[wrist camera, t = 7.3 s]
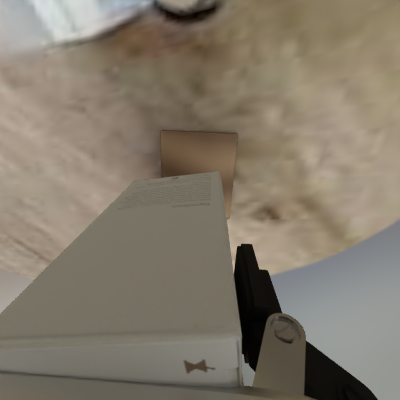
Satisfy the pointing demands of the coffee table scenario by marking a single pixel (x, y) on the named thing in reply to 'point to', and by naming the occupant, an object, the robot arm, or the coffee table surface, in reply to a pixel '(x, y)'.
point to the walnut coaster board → (200, 156)
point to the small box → (137, 294)
